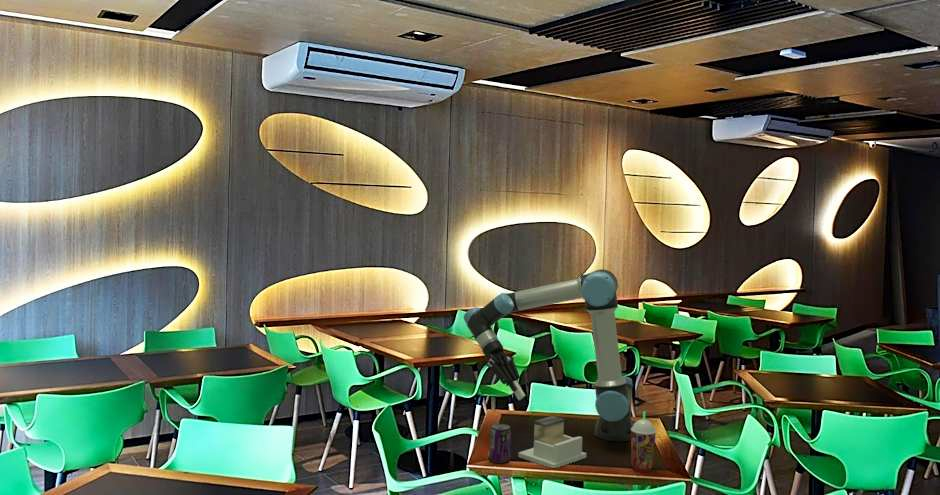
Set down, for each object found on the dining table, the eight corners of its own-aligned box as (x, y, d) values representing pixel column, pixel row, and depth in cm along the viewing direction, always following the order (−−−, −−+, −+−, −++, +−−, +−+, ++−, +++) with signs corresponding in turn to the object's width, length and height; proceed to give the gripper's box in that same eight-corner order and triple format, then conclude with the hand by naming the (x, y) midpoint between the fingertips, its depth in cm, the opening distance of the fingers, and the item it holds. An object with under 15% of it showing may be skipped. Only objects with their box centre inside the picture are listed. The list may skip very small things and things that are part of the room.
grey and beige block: (533, 451, 278) (534, 421, 277) (551, 445, 285) (552, 415, 284) (544, 455, 274) (545, 424, 273) (563, 449, 281) (564, 419, 281)
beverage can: (508, 465, 269) (509, 430, 268) (487, 463, 271) (488, 428, 270) (511, 458, 276) (512, 424, 275) (491, 456, 278) (492, 422, 277)
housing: (518, 456, 278) (519, 435, 277) (551, 445, 290) (551, 425, 290) (553, 469, 266) (554, 447, 266) (586, 457, 279) (587, 436, 278)
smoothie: (649, 475, 263) (652, 416, 261) (625, 470, 267) (628, 412, 266) (657, 468, 270) (660, 410, 268) (634, 463, 274) (636, 406, 273)
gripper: (496, 348, 305) (528, 400, 294) (472, 352, 295) (504, 406, 285) (507, 337, 301) (539, 389, 290) (483, 341, 291) (515, 395, 281)
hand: (521, 397), depth 288 cm, fingers closed
